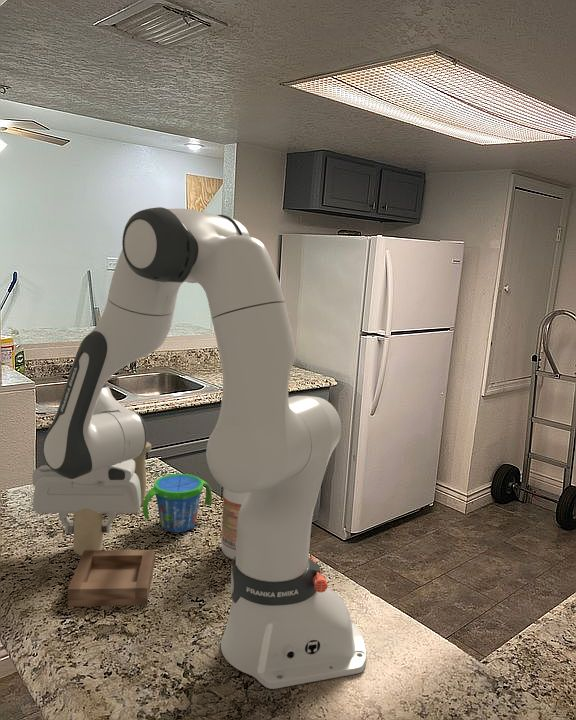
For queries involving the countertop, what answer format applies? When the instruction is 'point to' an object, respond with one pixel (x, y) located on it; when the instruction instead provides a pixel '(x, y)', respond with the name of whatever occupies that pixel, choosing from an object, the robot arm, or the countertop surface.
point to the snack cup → (177, 501)
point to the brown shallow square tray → (112, 578)
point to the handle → (142, 470)
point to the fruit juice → (230, 521)
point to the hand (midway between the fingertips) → (88, 532)
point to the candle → (87, 530)
